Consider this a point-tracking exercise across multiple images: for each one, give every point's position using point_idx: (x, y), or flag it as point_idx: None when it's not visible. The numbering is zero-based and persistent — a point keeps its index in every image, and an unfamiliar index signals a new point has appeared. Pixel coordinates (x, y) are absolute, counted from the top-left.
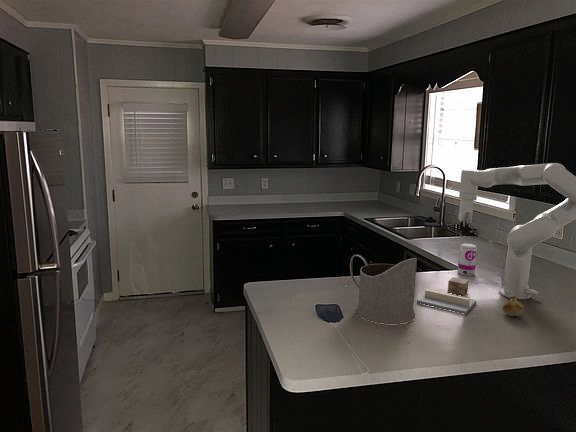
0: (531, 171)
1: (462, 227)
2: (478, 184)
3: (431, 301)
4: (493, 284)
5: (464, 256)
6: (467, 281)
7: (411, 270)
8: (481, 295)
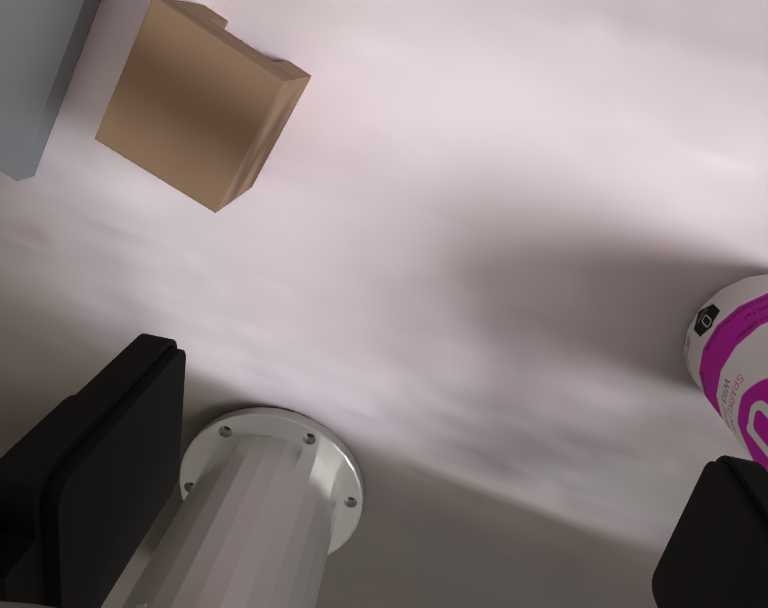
0: None
1: (45, 452)
2: None
3: None
4: (474, 440)
5: None
6: (181, 190)
7: None
8: (214, 273)
